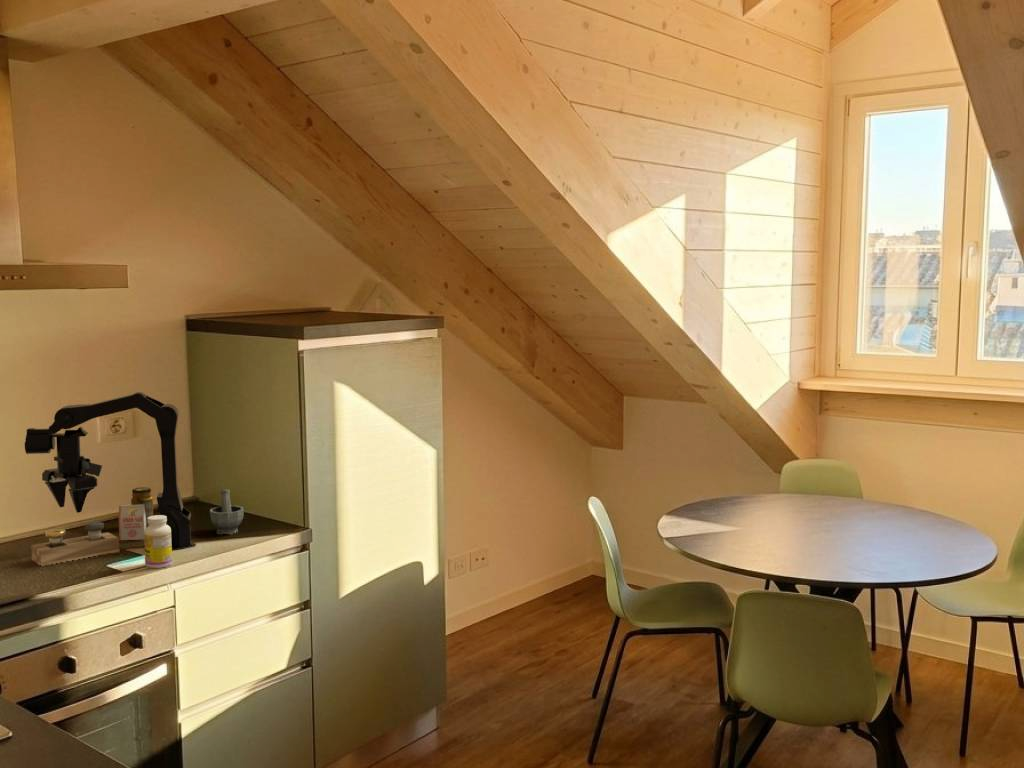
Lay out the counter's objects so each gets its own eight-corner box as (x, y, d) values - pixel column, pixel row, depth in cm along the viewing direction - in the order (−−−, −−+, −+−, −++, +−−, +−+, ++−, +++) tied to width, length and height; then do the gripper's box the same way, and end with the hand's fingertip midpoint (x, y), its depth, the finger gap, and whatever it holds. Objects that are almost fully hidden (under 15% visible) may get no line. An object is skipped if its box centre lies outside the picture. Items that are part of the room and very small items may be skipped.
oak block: (119, 552, 265) (118, 537, 264) (41, 566, 251) (40, 551, 251) (108, 546, 271) (107, 532, 270) (31, 559, 257) (31, 545, 257)
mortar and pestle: (245, 535, 283) (244, 494, 282) (211, 537, 280) (210, 496, 279) (242, 525, 294) (241, 486, 293) (209, 528, 291) (208, 488, 290)
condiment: (150, 524, 296) (149, 485, 295) (160, 529, 289) (159, 490, 288) (126, 527, 291) (124, 488, 290) (135, 533, 285) (134, 493, 284)
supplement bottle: (144, 563, 255) (142, 515, 253) (171, 560, 257) (169, 513, 256) (145, 570, 249) (144, 521, 247) (173, 567, 251) (171, 518, 250)
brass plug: (68, 546, 257) (68, 531, 257) (49, 549, 254) (48, 534, 254) (62, 542, 261) (61, 527, 260) (43, 546, 257) (42, 530, 257)
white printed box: (121, 538, 279) (120, 504, 278) (146, 537, 281) (145, 503, 280) (119, 541, 276) (118, 507, 275) (144, 540, 277) (143, 506, 276)
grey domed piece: (107, 539, 264) (106, 524, 263) (88, 542, 261) (88, 527, 260) (100, 536, 267) (100, 521, 267) (82, 539, 264) (81, 524, 264)
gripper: (115, 453, 262) (116, 510, 263) (79, 445, 273) (81, 499, 275) (75, 458, 253) (76, 517, 255) (40, 450, 265) (42, 506, 266)
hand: (70, 509), depth 263 cm, fingers open, 9 cm apart
